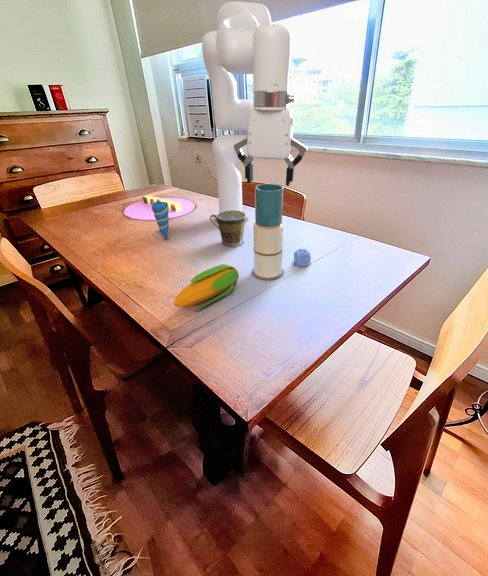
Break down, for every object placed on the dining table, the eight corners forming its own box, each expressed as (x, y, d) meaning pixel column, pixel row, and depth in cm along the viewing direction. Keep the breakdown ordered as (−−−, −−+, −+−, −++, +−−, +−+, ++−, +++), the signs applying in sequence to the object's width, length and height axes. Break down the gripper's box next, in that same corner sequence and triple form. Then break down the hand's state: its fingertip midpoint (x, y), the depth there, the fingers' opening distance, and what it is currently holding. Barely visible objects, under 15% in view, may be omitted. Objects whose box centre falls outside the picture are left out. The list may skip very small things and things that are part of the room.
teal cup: (258, 216, 82) (258, 183, 77) (283, 218, 80) (285, 184, 76) (252, 225, 76) (252, 190, 71) (279, 228, 75) (280, 191, 70)
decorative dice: (305, 259, 93) (306, 248, 91) (309, 265, 90) (311, 254, 88) (293, 260, 93) (294, 249, 91) (297, 267, 90) (298, 255, 87)
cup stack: (257, 264, 91) (257, 215, 83) (283, 267, 89) (286, 218, 81) (250, 277, 84) (249, 226, 76) (278, 281, 83) (281, 229, 74)
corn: (245, 262, 76) (181, 295, 63) (247, 287, 80) (187, 324, 67) (225, 255, 80) (161, 285, 68) (228, 280, 84) (168, 312, 71)
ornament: (169, 242, 105) (161, 200, 97) (155, 241, 106) (146, 199, 98) (175, 237, 109) (168, 196, 101) (162, 236, 110) (154, 195, 102)
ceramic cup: (250, 239, 107) (250, 211, 102) (240, 250, 99) (239, 221, 94) (217, 234, 111) (215, 208, 105) (205, 245, 103) (202, 217, 98)
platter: (164, 194, 156) (162, 188, 154) (209, 205, 141) (208, 198, 139) (108, 211, 134) (106, 203, 132) (155, 225, 119) (153, 217, 117)
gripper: (312, 101, 65) (305, 181, 75) (237, 100, 69) (239, 177, 78) (309, 102, 59) (302, 189, 69) (227, 101, 63) (230, 185, 72)
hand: (268, 183), depth 73 cm, fingers open, 9 cm apart
